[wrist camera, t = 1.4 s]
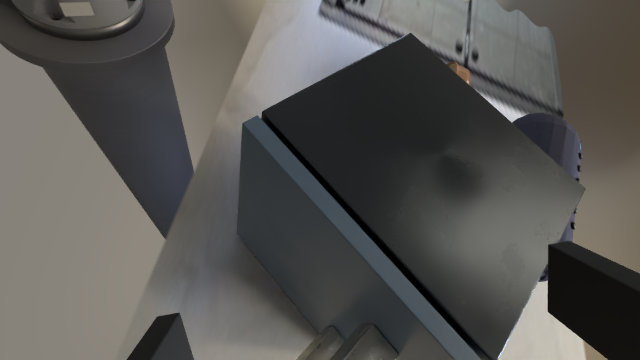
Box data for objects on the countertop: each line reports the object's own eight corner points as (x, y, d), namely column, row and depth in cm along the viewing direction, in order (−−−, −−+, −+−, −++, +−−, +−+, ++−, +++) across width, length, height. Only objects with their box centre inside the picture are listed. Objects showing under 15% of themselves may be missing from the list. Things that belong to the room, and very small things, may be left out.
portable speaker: (511, 303, 37) (595, 294, 29) (443, 256, 38) (506, 234, 29) (539, 166, 50) (603, 131, 41) (488, 133, 50) (541, 91, 42)
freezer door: (294, 407, 27) (404, 538, 10) (189, 268, 30) (131, 181, 13) (343, 348, 30) (491, 369, 13) (244, 227, 33) (257, 114, 16)
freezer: (345, 346, 30) (496, 365, 13) (246, 226, 33) (261, 110, 16) (420, 256, 37) (586, 188, 20) (332, 162, 40) (410, 32, 22)
